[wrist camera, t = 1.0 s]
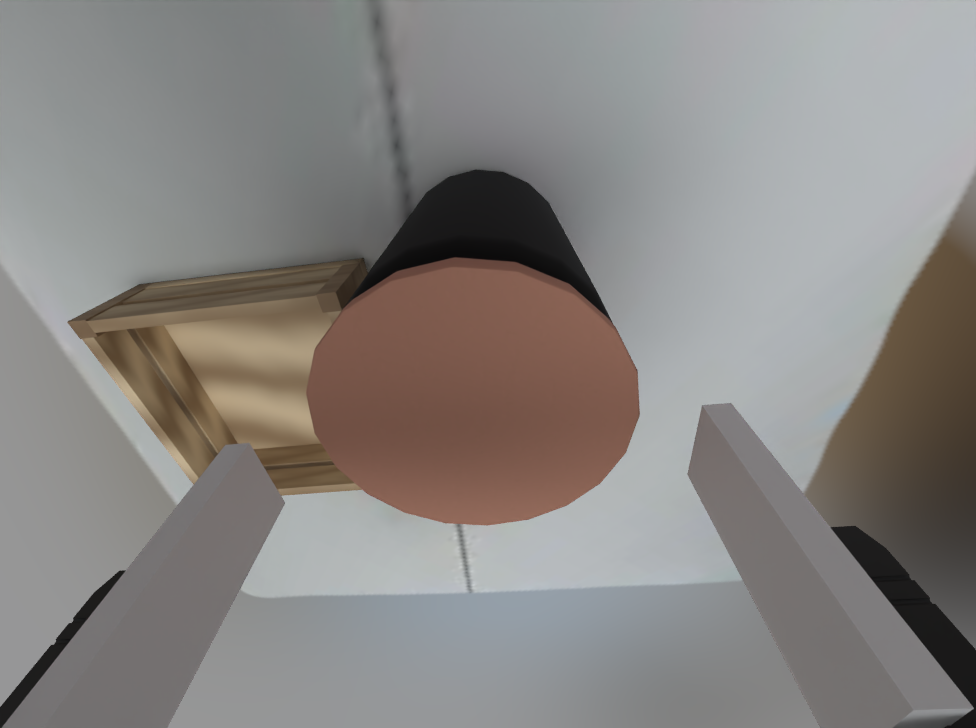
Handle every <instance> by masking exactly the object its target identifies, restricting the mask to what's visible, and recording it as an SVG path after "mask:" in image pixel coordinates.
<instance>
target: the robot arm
mask: <svg viewBox="0 0 976 728" xmlns="http://www.w3.org/2000/svg"><path fill="white" fill-rule="evenodd" d="M688 476H689V478H690V480H691V482H692V484H693V486H694V488H695V490H696V492H697V494H698V495H699V497H700V499H701V501H702V503H703V505H704V507H705V509H706V511H707V513H708V515H709V516H710V518H711V520H712V522H713V524H714V526H715V528H716V530H717V532H718V534H719V536H720V537H721V539H722V541H723V543H724V545H725V547H726V549H727V551H728V553H729V555H730V557H731V558H732V560H733V562H734V564H735V566H736V568H737V570H738V572H739V574H740V576H741V578H742V579H743V581H744V583H745V585H746V587H747V589H748V591H749V593H750V595H751V597H752V599H753V600H754V602H755V604H756V606H757V608H758V610H759V612H760V614H761V616H762V618H763V619H764V621H765V623H766V625H767V627H768V629H769V631H770V633H771V635H772V637H773V639H774V640H775V642H776V644H777V646H778V648H779V650H780V652H781V654H782V656H783V658H784V660H785V661H786V663H787V665H788V667H789V669H790V671H791V673H792V675H793V677H794V679H795V681H796V682H797V684H798V686H799V688H800V690H801V692H802V694H803V696H804V698H805V700H806V702H807V703H808V705H809V707H810V709H811V711H812V713H813V715H814V717H815V719H816V720H817V723H818V724H819V726H820V728H976V650H975V648H974V647H973V646H972V645H971V644H970V643H969V642H968V641H967V639H966V638H965V637H964V636H963V635H962V634H961V633H960V632H959V630H958V629H957V628H956V627H955V626H954V625H953V624H952V622H951V621H950V620H949V619H948V618H947V617H946V616H945V615H944V614H943V612H942V611H941V610H940V609H939V608H938V607H937V605H936V604H932V603H931V602H930V598H929V596H928V595H927V594H926V593H925V592H924V591H923V590H922V589H921V587H920V586H919V585H918V584H917V583H916V582H915V581H914V580H911V579H910V577H909V574H908V573H907V572H906V570H905V569H904V568H903V567H902V566H901V565H900V564H899V562H898V561H897V560H896V559H895V558H894V557H893V556H892V555H891V554H890V552H889V551H888V550H887V549H886V548H885V547H884V546H882V545H881V544H880V543H878V542H877V541H875V540H874V539H873V538H871V537H870V536H868V535H867V534H866V533H864V532H863V531H862V530H860V529H859V528H857V527H856V526H845V527H829V525H828V524H827V523H826V522H825V520H824V519H823V518H822V517H821V516H820V514H819V513H818V512H817V510H816V509H815V508H814V507H813V506H812V504H811V503H810V502H809V500H808V499H807V498H806V496H805V495H804V494H803V493H802V491H801V490H800V489H799V488H798V486H797V485H796V484H795V483H794V481H793V480H792V479H791V478H790V476H789V475H788V474H787V473H786V471H785V470H784V469H783V468H782V466H781V465H780V464H779V463H778V461H777V460H776V459H775V458H774V456H773V455H772V454H771V453H770V451H769V450H768V449H767V448H766V446H765V445H764V444H763V442H762V441H761V440H760V439H759V437H758V436H757V435H756V434H755V432H754V431H753V430H752V429H751V427H750V426H749V425H748V424H747V422H746V421H745V420H744V419H743V417H742V416H741V415H740V414H739V412H738V411H737V410H736V409H735V407H734V406H733V405H732V404H731V403H725V404H713V405H702V409H701V413H700V418H699V423H698V427H697V432H696V437H695V442H694V446H693V451H692V456H691V460H690V465H689V470H688ZM284 504H285V502H284V500H283V498H282V497H281V495H280V493H279V492H278V490H277V488H276V487H275V485H274V483H273V482H272V480H271V478H270V477H269V475H268V473H267V472H266V470H265V468H264V467H263V465H262V463H261V461H260V460H259V458H258V456H257V455H256V453H255V451H254V450H253V448H252V446H251V445H250V443H242V444H230V445H225V446H224V447H223V448H222V450H221V451H220V452H219V453H218V455H217V456H216V457H215V459H214V460H213V461H212V462H211V464H210V465H209V466H208V467H207V469H206V470H205V471H204V472H203V474H202V475H201V476H200V477H199V479H198V480H197V481H196V483H195V484H194V485H193V486H192V488H191V489H190V490H189V491H188V493H187V494H186V495H185V496H184V498H183V499H182V500H181V502H180V503H179V504H178V505H177V507H176V508H175V509H174V510H173V512H172V513H171V514H170V515H169V517H168V518H167V519H166V521H165V522H164V523H163V524H162V526H161V527H160V528H159V529H158V531H157V532H156V533H155V535H154V536H153V537H152V538H151V539H150V541H149V542H148V543H147V545H146V546H145V547H144V548H143V550H142V551H141V552H140V553H139V555H138V556H137V557H136V558H135V560H134V561H133V562H132V564H131V565H130V566H129V567H128V569H127V570H125V571H119V572H118V573H117V574H115V575H114V576H113V577H112V578H111V579H110V580H108V581H107V582H106V583H105V584H104V585H103V586H102V587H100V588H99V589H98V590H97V591H96V592H94V594H93V595H92V596H91V597H90V598H89V600H88V601H87V602H86V603H85V604H84V606H83V607H82V608H81V609H80V611H79V612H78V613H77V614H76V615H75V617H74V618H73V619H74V620H73V622H72V623H69V624H68V625H67V626H66V628H65V629H64V630H63V631H62V632H61V634H60V635H59V636H58V637H57V639H56V643H55V644H54V645H51V646H50V647H49V648H48V650H47V651H46V652H45V653H44V654H43V656H42V657H41V658H40V660H39V661H38V662H37V663H36V664H35V665H34V667H33V668H32V669H31V670H30V671H29V673H28V674H27V675H26V676H25V678H24V679H23V680H22V681H21V683H20V684H19V685H18V686H17V687H16V689H15V690H14V691H13V692H12V694H11V695H10V696H9V697H8V698H7V700H6V701H5V702H4V703H3V704H2V706H1V707H0V728H167V727H168V725H169V723H170V721H171V719H172V718H173V716H174V714H175V712H176V710H177V708H178V706H179V704H180V702H181V701H182V699H183V697H184V695H185V693H186V691H187V689H188V687H189V685H190V683H191V681H192V680H193V678H194V676H195V674H196V672H197V670H198V668H199V666H200V664H201V662H202V660H203V659H204V657H205V655H206V653H207V651H208V649H209V647H210V645H211V643H212V641H213V640H214V638H215V636H216V634H217V632H218V630H219V628H220V626H221V624H222V622H223V620H224V618H225V617H226V615H227V613H228V611H229V609H230V607H231V605H232V603H233V601H234V600H235V597H236V596H237V594H238V592H239V590H240V588H241V586H242V584H243V582H244V580H245V579H246V577H247V575H248V573H249V571H250V569H251V567H252V565H253V563H254V561H255V559H256V558H257V556H258V554H259V552H260V550H261V548H262V546H263V544H264V542H265V540H266V539H267V537H268V535H269V533H270V531H271V529H272V527H273V525H274V523H275V521H276V519H277V518H278V516H279V514H280V512H281V510H282V508H283V506H284Z"/></svg>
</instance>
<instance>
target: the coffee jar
mask: <svg viewBox="0 0 976 728" xmlns="http://www.w3.org/2000/svg"><path fill="white" fill-rule="evenodd" d="M306 396H307V400H308V405H309V410H310V414H311V419H312V424H313V428H314V433H315V435H316V436H317V438H318V439H319V441H320V443H321V444H322V446H323V447H324V449H325V450H326V452H327V453H328V455H329V457H330V458H331V460H332V461H333V463H334V464H335V466H336V467H337V468H338V469H339V470H340V471H341V472H342V473H344V474H345V475H346V476H347V477H348V478H349V479H351V480H352V481H353V482H354V483H355V484H356V485H358V486H359V487H360V488H361V489H362V490H364V491H365V492H366V493H367V494H369V495H371V496H373V497H375V498H377V499H379V500H381V501H383V502H385V503H387V504H389V505H391V506H393V507H395V508H397V509H399V510H401V511H403V512H405V513H408V514H412V515H416V516H420V517H424V518H428V519H432V520H435V521H439V522H443V523H454V524H472V525H493V524H500V523H507V522H514V521H521V520H528V519H531V518H534V517H537V516H539V515H542V514H545V513H548V512H550V511H553V510H556V509H558V508H561V507H564V506H567V505H568V504H570V503H571V502H573V501H574V500H576V499H577V498H579V497H580V496H582V495H583V494H585V493H586V492H588V491H589V490H591V489H592V488H594V487H595V486H597V485H598V484H600V483H601V482H602V481H603V479H604V478H605V477H606V476H607V475H608V473H609V472H610V471H611V470H612V469H613V467H614V466H615V465H616V464H617V463H618V461H619V460H620V459H621V458H622V457H623V455H624V454H625V453H626V451H627V448H628V445H629V443H630V440H631V437H632V434H633V432H634V429H635V426H636V423H637V421H638V418H639V415H640V411H639V391H638V372H637V369H636V367H635V365H634V363H633V361H632V359H631V357H630V355H629V353H628V351H627V349H626V347H625V345H624V343H623V341H622V339H621V337H620V335H619V333H618V331H617V329H616V328H615V326H614V325H613V323H612V321H611V319H610V317H609V315H608V313H607V311H606V309H605V307H604V305H603V303H602V301H601V299H600V297H599V295H598V293H597V291H596V289H595V287H594V285H593V284H592V282H591V280H590V278H589V276H588V274H587V273H586V271H585V269H584V267H583V265H582V263H581V262H580V260H579V258H578V256H577V254H576V252H575V251H574V249H573V247H572V245H571V243H570V241H569V240H568V238H567V236H566V234H565V232H564V230H563V229H562V227H561V225H560V223H559V221H558V219H557V217H556V216H555V214H554V212H553V210H552V208H551V206H550V205H549V203H548V202H547V201H546V200H545V199H544V198H543V197H542V196H541V195H540V194H539V193H538V192H537V191H536V190H535V189H534V188H533V187H532V186H531V185H530V184H528V183H526V182H524V181H522V180H520V179H517V178H515V177H513V176H511V175H509V174H506V173H504V172H495V171H483V170H473V171H470V172H466V173H462V174H459V175H455V176H451V177H448V178H447V179H445V180H444V181H443V182H441V183H440V184H438V185H437V186H435V187H434V188H433V189H431V190H430V191H428V192H427V193H426V194H425V196H424V197H423V198H422V200H421V201H420V203H419V204H418V205H417V207H416V208H415V209H414V211H413V212H412V214H411V215H410V216H409V218H408V219H407V220H406V222H405V223H404V225H403V226H402V227H401V229H400V230H399V231H398V233H397V234H396V236H395V237H394V238H393V240H392V241H391V243H390V244H389V245H388V247H387V248H386V249H385V251H384V252H383V254H382V255H381V256H380V258H379V259H378V260H377V262H376V263H375V265H374V266H373V267H372V269H371V270H370V271H369V273H368V274H367V276H366V277H365V278H364V280H363V281H362V283H361V284H360V285H359V287H358V288H357V290H356V291H355V292H354V294H353V295H352V297H351V298H350V299H349V301H348V302H347V304H346V305H345V306H344V308H343V310H342V311H341V313H340V314H339V315H338V317H337V318H336V320H335V321H334V322H333V324H332V325H331V327H330V328H329V329H328V331H327V332H326V334H325V335H324V336H323V338H322V339H321V341H320V342H319V343H318V345H317V346H316V348H315V350H314V355H313V360H312V365H311V370H310V375H309V380H308V385H307V389H306Z"/></svg>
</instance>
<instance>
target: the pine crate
mask: <svg viewBox="0 0 976 728" xmlns="http://www.w3.org/2000/svg"><path fill="white" fill-rule="evenodd" d="M367 274H368V272H367V269H366V265H365V262H364V258H362V259H353V260H345V261H336V262H328V263H319V264H310V265H302V266H293V267H285V268H276V269H268V270H259V271H250V272H242V273H233V274H225V275H216V276H208V277H199V278H191V279H182V280H173V281H165V282H156V283H148V284H139V285H137V286H135V287H134V288H132V289H130V290H128V291H126V292H124V293H122V294H120V295H118V296H116V297H114V298H112V299H110V300H108V301H107V302H105V303H103V304H101V305H99V306H97V307H95V308H93V309H91V310H89V311H87V312H85V313H83V314H81V315H80V316H78V317H76V318H74V319H72V320H70V321H68V324H69V325H70V326H71V327H72V329H73V330H74V331H75V333H76V334H77V335H78V337H79V338H80V339H82V340H83V341H84V342H85V344H86V345H87V346H88V348H89V349H90V350H91V351H92V353H93V354H94V355H95V357H96V358H97V359H98V361H99V362H100V363H101V364H102V366H103V367H104V368H105V370H106V371H107V372H108V374H109V375H110V376H111V377H112V379H113V380H114V381H115V383H116V384H117V385H118V387H119V388H120V389H121V391H122V392H123V393H124V394H125V396H126V397H127V398H128V400H129V401H130V402H131V404H132V405H133V406H134V407H135V409H136V410H137V411H138V413H139V414H140V415H141V417H142V418H143V419H144V420H145V422H146V423H147V424H148V426H149V427H150V428H151V430H152V431H153V432H154V434H155V435H156V436H157V437H158V439H159V440H160V441H161V443H162V444H163V445H164V447H165V448H166V449H167V450H168V452H169V453H170V454H171V456H172V457H173V458H174V460H175V461H176V462H177V463H178V465H179V466H180V467H181V469H182V470H183V471H184V473H185V474H186V475H187V477H188V478H189V479H190V480H191V482H192V483H193V484H195V483H196V481H197V480H198V479H199V477H200V476H201V475H202V474H203V472H204V471H205V470H206V469H207V467H208V466H209V465H210V464H211V462H212V461H213V460H214V459H215V457H216V456H217V455H218V453H219V452H220V451H221V450H222V448H223V447H224V446H225V445H230V444H242V443H250V445H251V446H252V448H253V450H254V451H255V453H256V455H257V456H258V458H259V460H260V461H261V463H262V465H263V467H264V468H265V470H266V472H267V473H268V475H269V477H270V478H271V480H272V482H273V483H274V485H275V487H276V488H277V490H278V492H279V493H280V495H281V496H282V495H295V494H309V493H323V492H336V491H350V490H362V489H361V488H360V487H359V486H358V485H356V484H355V483H354V482H353V481H352V480H351V479H349V478H348V477H347V476H346V475H345V474H344V473H342V472H341V471H340V470H339V469H338V468H337V467H336V466H335V464H334V463H333V461H332V460H331V458H330V457H329V455H328V453H327V452H326V450H325V449H324V447H323V446H322V444H321V443H320V441H319V439H318V438H317V436H316V435H315V433H314V428H313V424H312V419H311V414H310V410H309V405H308V400H307V396H306V389H307V385H308V380H309V375H310V370H311V365H312V360H313V355H314V350H315V348H316V346H317V345H318V343H319V342H320V341H321V339H322V338H323V336H324V335H325V334H326V332H327V331H328V329H329V328H330V327H331V325H332V324H333V322H334V321H335V320H336V318H337V317H338V315H339V314H340V313H341V311H342V310H343V308H344V306H345V305H346V304H347V302H348V301H349V299H350V298H351V297H352V295H353V294H354V292H355V291H356V290H357V288H358V287H359V285H360V284H361V283H362V281H363V280H364V278H365V277H366V276H367Z"/></svg>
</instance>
